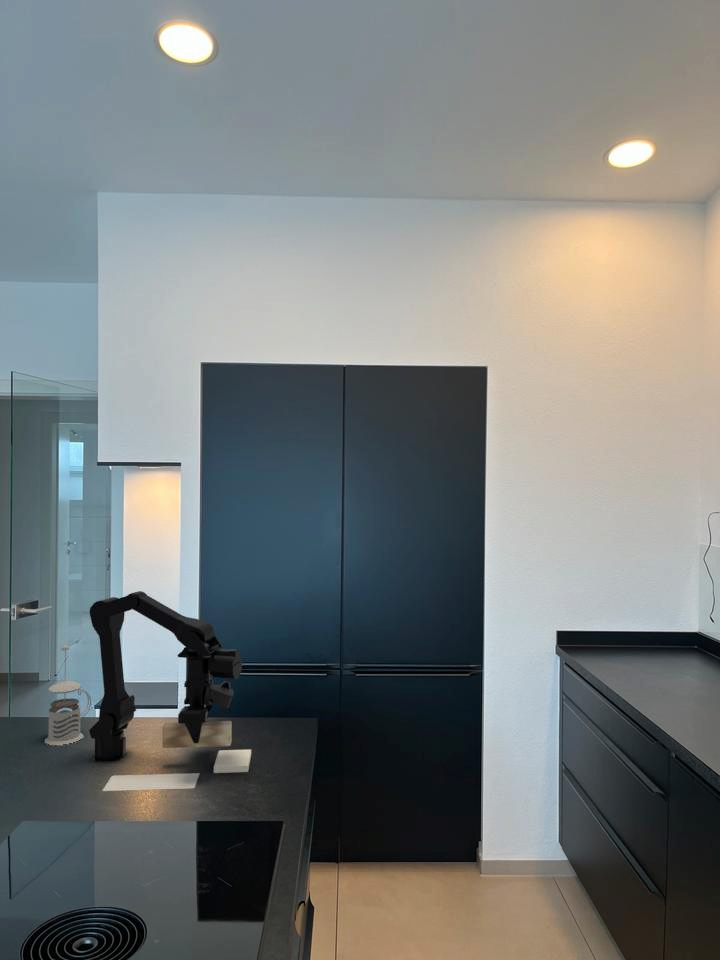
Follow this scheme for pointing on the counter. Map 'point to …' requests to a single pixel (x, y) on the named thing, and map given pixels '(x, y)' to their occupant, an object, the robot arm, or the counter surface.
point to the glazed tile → (232, 761)
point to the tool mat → (151, 782)
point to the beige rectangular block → (209, 736)
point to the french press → (65, 713)
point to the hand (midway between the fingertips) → (197, 740)
